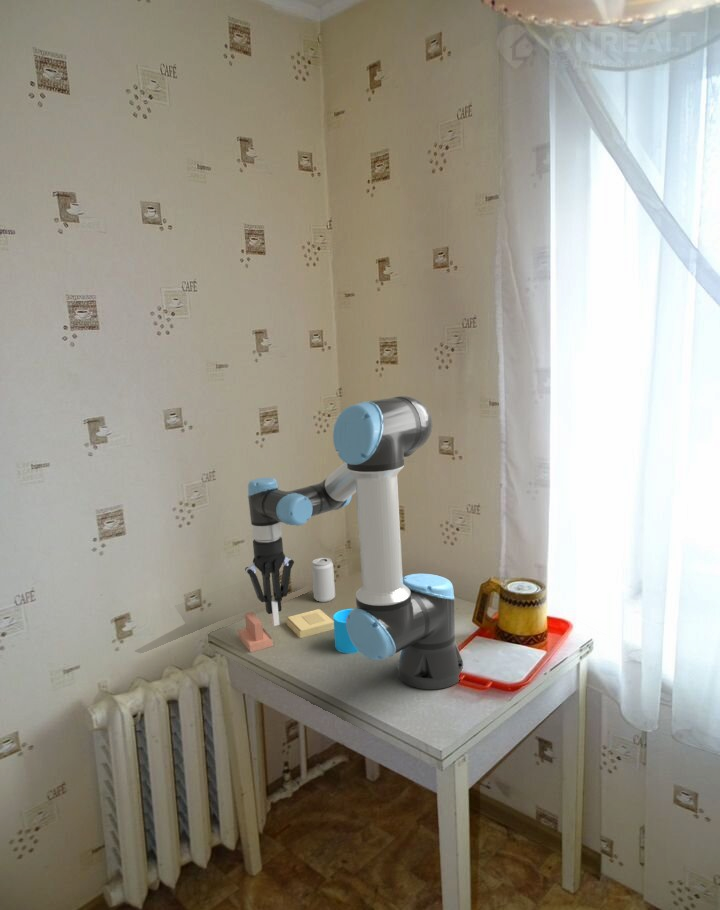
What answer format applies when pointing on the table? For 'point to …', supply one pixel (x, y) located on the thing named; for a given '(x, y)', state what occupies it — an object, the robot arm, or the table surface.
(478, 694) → the table surface
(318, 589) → the beverage can
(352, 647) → the mug
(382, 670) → the table surface
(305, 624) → the tan flat square block
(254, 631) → the pink stepped block
